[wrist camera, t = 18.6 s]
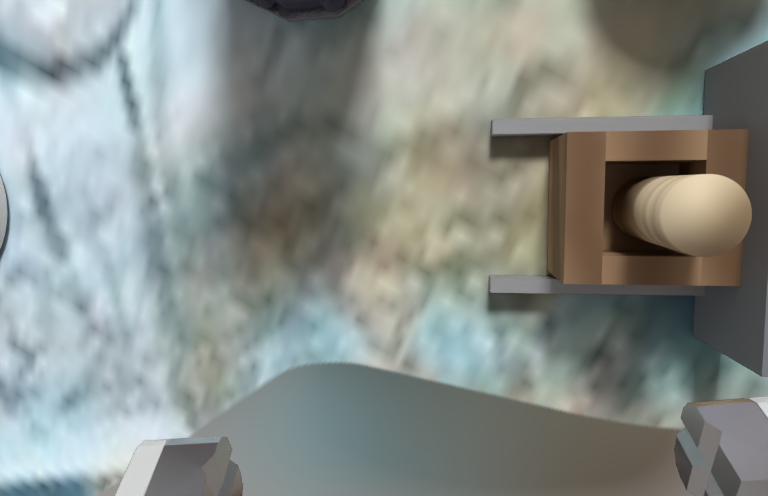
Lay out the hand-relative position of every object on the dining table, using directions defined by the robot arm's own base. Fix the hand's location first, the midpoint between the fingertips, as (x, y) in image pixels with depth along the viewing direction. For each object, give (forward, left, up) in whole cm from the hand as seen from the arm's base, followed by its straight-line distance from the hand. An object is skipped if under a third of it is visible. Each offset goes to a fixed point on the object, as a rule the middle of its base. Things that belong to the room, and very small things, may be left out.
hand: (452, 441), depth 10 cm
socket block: (+8, +10, -31) cm, 34 cm away
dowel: (+8, +10, -29) cm, 32 cm away
